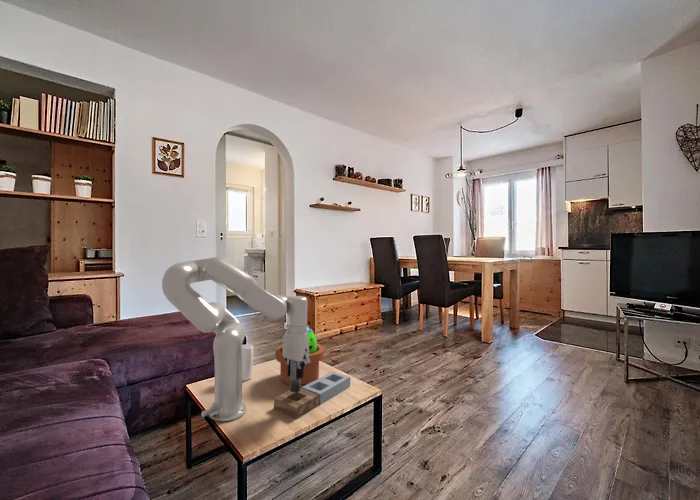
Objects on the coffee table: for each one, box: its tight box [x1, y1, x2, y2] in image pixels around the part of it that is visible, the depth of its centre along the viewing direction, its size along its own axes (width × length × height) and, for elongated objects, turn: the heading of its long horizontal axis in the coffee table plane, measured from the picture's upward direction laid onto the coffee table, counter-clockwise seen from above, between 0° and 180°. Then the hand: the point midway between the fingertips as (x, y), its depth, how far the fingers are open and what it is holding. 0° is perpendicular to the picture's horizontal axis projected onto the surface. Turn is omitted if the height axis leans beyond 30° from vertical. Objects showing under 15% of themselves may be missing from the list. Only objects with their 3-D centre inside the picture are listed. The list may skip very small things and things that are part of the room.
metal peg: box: [289, 360, 301, 392], centre depth 122 cm, size 4×4×14 cm
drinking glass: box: [242, 343, 254, 382], centre depth 147 cm, size 7×7×15 cm
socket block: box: [273, 387, 320, 420], centre depth 122 cm, size 12×12×4 cm
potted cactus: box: [274, 325, 325, 386], centre depth 149 cm, size 22×22×25 cm
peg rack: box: [301, 371, 351, 405], centre depth 136 cm, size 20×10×4 cm, turn 144°
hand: (295, 376), depth 122 cm, fingers closed on metal peg, 4 cm apart
